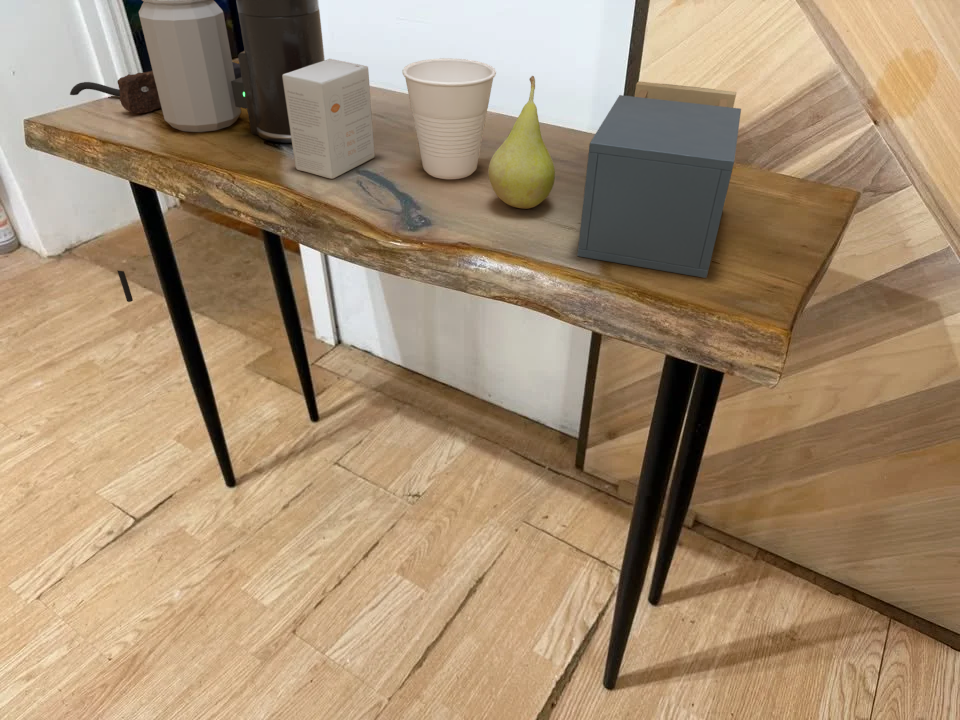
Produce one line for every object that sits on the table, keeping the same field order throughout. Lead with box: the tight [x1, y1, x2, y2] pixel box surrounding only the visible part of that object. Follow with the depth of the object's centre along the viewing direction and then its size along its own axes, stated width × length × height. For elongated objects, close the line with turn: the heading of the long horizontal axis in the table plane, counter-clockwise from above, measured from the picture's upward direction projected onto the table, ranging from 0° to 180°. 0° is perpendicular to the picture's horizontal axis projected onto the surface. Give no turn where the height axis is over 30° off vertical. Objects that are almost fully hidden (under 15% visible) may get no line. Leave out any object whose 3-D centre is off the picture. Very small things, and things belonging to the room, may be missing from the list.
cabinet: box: [576, 94, 742, 279], centre depth 66 cm, size 15×12×11 cm
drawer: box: [634, 80, 737, 108], centre depth 75 cm, size 18×10×9 cm, turn 161°
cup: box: [401, 57, 497, 180], centre depth 78 cm, size 10×10×11 cm
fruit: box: [488, 75, 556, 210], centre depth 71 cm, size 7×8×12 cm
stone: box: [117, 70, 162, 114], centre depth 96 cm, size 8×3×5 cm, turn 147°
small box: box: [282, 58, 376, 180], centre depth 79 cm, size 8×6×10 cm
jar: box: [138, 0, 242, 133], centre depth 88 cm, size 10×10×18 cm
